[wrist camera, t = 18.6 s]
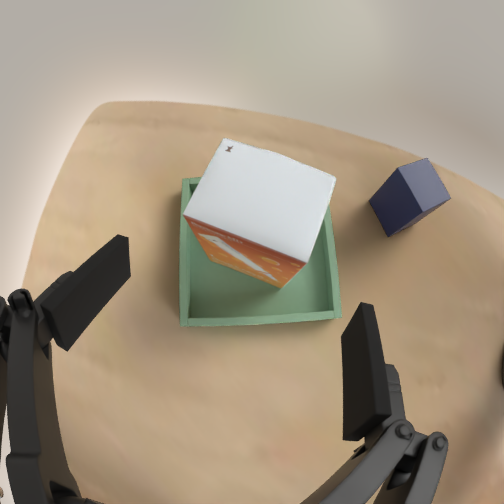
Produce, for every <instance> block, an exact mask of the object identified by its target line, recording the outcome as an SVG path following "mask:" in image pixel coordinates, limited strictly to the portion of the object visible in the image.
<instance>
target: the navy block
mask: <svg viewBox="0 0 504 504" xmlns="http://www.w3.org/2000/svg"><path fill="white" fill-rule="evenodd" d="M449 199H451V197H450V195H449V193H448V192H447V190H446V188H445V186H444V184H443V183H442V181H441V179H440V178H439V176H438V174H437V172H436V171H435V169H434V168H433V166H432V164H431V163H430V161H429V160H428V158H425V159H422V160H419V161H416V162H413V163H410V164H407V165H404V166H401V167H398V168H397V169H396V170H395V171H394V172H393V174H392V175H391V176H390V177H389V178H388V179H387V180H386V182H385V183H384V184H383V185H382V186H381V187H380V188H379V190H378V191H377V192H376V193H375V194H374V195H373V196H372V197H371V199H370V200H369V202H370V204H371V206H372V207H373V209H374V211H375V213H376V215H377V217H378V219H379V221H380V223H381V224H382V226H383V228H384V230H385V232H386V234H387V236H388V237H389V236H391V235H393V234H395V233H397V232H399V231H401V230H403V229H405V228H407V227H409V226H411V225H413V224H415V223H417V222H418V221H420V220H421V219H422V218H424V217H425V216H427V215H428V214H430V213H431V212H433V211H434V210H435V209H437V208H438V207H440V206H441V205H442V204H444V203H445V202H446V201H448V200H449Z"/></svg>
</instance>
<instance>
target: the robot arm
mask: <svg viewBox="0 0 504 504" xmlns="http://www.w3.org/2000/svg"><path fill="white" fill-rule="evenodd" d="M130 277H131V273H130V259H129V240H128V237H125V236H122V235H116V236H115V237H114V238H113V239H111V240H110V241H109V242H108V243H107V244H105V245H104V246H103V247H102V248H101V249H99V250H98V251H97V252H96V253H95V254H94V255H92V256H91V257H90V258H89V259H88V260H87V261H85V262H84V263H83V264H82V265H81V266H80V267H79V268H78V269H76V270H75V271H74V272H72V271H69V272H67V273H65V274H63V275H61V276H60V277H59V278H58V279H57V280H56V281H55V282H53V283H52V284H51V285H50V287H48V288H47V289H46V290H45V291H44V292H43V293H42V294H41V295H40V296H39V297H38V298H37V299H36V300H35V301H34V302H33V300H32V297H31V295H30V293H29V291H28V290H26V289H18V290H15V291H14V292H12V293H11V294H10V295H9V297H8V302H9V305H10V306H9V305H7V304H6V301H5V299H4V298H3V297H1V296H0V459H1V443H2V433H3V424H4V417H5V410H6V404H7V416H8V429H9V439H10V447H11V452H10V454H8V455H7V457H6V467H7V472H8V478H9V482H10V487H11V491H12V495H13V499H14V502H15V504H104V503H101V502H97V501H94V500H91V499H88V498H86V499H85V498H82V497H81V494H80V491H79V488H78V485H77V483H76V481H75V479H74V477H73V476H72V474H71V473H70V470H69V468H68V464H67V460H66V456H65V452H64V448H63V443H62V439H61V434H60V428H59V423H58V417H57V410H56V402H55V394H54V384H53V371H52V349H51V342H50V341H51V339H52V338H54V340H55V342H56V344H57V345H58V346H59V347H61V348H63V349H64V350H66V351H67V352H68V350H69V349H70V348H71V346H72V345H73V344H74V343H75V341H76V340H77V339H78V338H79V336H80V335H81V334H82V333H83V331H84V330H85V329H86V328H87V326H88V325H89V324H90V323H91V322H92V320H93V319H94V318H95V317H96V316H97V314H98V313H99V312H100V311H101V310H102V308H103V307H104V306H105V305H106V304H107V303H108V301H109V300H110V299H111V298H112V297H113V296H114V294H115V293H116V292H117V291H118V290H119V289H120V288H121V287H122V285H123V284H124V283H125V282H126V281H127V280H128V279H129V278H130ZM341 345H342V367H343V440H346V441H359V440H360V439H362V438H363V437H365V443H364V444H363V445H361V446H360V447H358V448H357V449H355V450H354V452H355V453H354V454H353V455H352V456H351V457H350V459H349V460H348V461H347V462H346V463H345V464H344V465H343V466H342V467H341V468H340V469H339V470H338V471H337V472H336V473H335V474H334V475H332V476H331V477H330V478H329V479H328V480H327V481H326V482H325V483H324V484H323V485H322V486H321V487H319V488H318V489H317V490H316V491H315V492H314V493H312V494H311V495H310V496H309V497H308V498H307V499H305V500H304V501H303V502H302V503H300V504H365V503H366V502H367V501H368V500H369V499H370V498H371V496H372V495H373V494H374V493H375V492H376V491H377V489H378V488H379V487H380V486H381V484H382V483H383V482H384V483H383V485H382V487H381V489H380V491H379V493H378V495H377V497H376V499H375V501H374V503H373V504H431V503H432V500H433V497H434V495H435V492H436V489H437V486H438V483H439V480H440V476H441V473H442V470H443V466H444V463H445V459H446V455H447V451H448V440H447V438H446V436H445V435H444V434H442V433H441V432H433V433H432V434H431V435H429V436H427V435H424V434H421V433H419V432H416V431H415V430H414V427H413V425H412V424H411V423H410V422H409V421H407V420H406V418H405V411H404V404H403V398H402V392H401V385H400V380H399V374H398V372H397V370H396V369H395V367H394V365H390V364H385V361H384V355H383V350H382V344H381V339H380V334H379V329H378V324H377V320H376V315H375V311H374V306H373V305H371V304H367V303H363V302H360V304H359V306H358V308H357V310H356V311H355V313H354V315H353V317H352V319H351V320H350V322H349V324H348V326H347V327H346V329H345V331H344V332H343V334H342V336H341ZM502 376H503V385H504V358H503V370H502ZM2 497H3V490H2V488H1V487H0V498H2ZM0 504H1V503H0Z"/></svg>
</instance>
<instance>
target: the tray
mask: <svg viewBox="0 0 504 504" xmlns="http://www.w3.org/2000/svg"><path fill="white" fill-rule="evenodd" d="M201 178H202V177H197V178H190V179H189V178H186V179H183V180H182V196H181V216H180V247H179V309H180V326H233V325H257V324H275V323H289V322H302V321H314V320H324V319H334V318H342V313H341V299H340V288H339V277H338V268H337V259H336V250H335V242H334V235H333V227H332V220H331V214H330V207H329V204H328V207H327V210H326V213H325V216H324V219H323V222H322V225H321V227H320V230H319V233H318V236H317V239H316V242H315V244H314V247H313V250H312V253H311V256H310V258H309V261H308V263H307V264H306V265H305V266H304V267H303V268H302V269H301V270H300V271H299V272H298V273H297V274H296V275H295V276H294V277H293V278H292V279H291V280H290V281H289V282H288V283H287V284H286V285H285V286H284V287H283V288H278V287H276V286H273V285H271V284H269V283H266V282H264V281H261V280H259V279H256V278H254V277H251V276H249V275H246V274H244V273H241V272H239V271H236V270H234V269H231V268H229V267H226V266H223V265H221V264H218V263H215V262H212V261H210V260H209V258H208V256H207V255H206V253H205V251H204V250H203V248H202V246H201V245H200V243H199V241H198V240H197V238H196V236H195V235H194V233H193V231H192V229H191V228H190V226H189V224H188V223H187V221H186V219H185V218H184V216H183V213H184V211H185V209H186V207H187V205H188V203H189V201H190V199H191V197H192V195H193V193H194V191H195V189H196V187H197V186H198V184H199V182H200V180H201Z"/></svg>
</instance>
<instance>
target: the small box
mask: <svg viewBox="0 0 504 504" xmlns="http://www.w3.org/2000/svg"><path fill="white" fill-rule="evenodd" d="M335 183H336V178H335V177H334V176H333V175H330V174H328V173H326V172H323V171H321V170H318V169H316V168H314V167H311V166H309V165H306V164H303V163H301V162H298V161H296V160H293V159H291V158H289V157H286V156H284V155H281V154H279V153H276V152H272V151H269V150H265V149H261V148H257V147H254V146H251V145H248V144H245V143H241V142H237V141H234V140H231V139H228V138H223V139H222V141H221V143H220V145H219V147H218V149H217V150H216V152H215V154H214V156H213V158H212V160H211V161H210V163H209V165H208V167H207V169H206V170H205V172H204V174H203V176H202V178H201V180H200V182H199V184H198V186H197V187H196V189H195V191H194V193H193V195H192V197H191V199H190V201H189V203H188V205H187V207H186V209H185V211H184V213H183V216H184V218H185V219H186V221H187V223H188V224H189V226H190V228H191V229H192V231H193V233H194V235H195V236H196V238H197V240H198V241H199V243H200V245H201V246H202V248H203V250H204V251H205V253H206V255H207V256H208V258H209V260H210V261H212V262H215V263H218V264H221V265H223V266H226V267H229V268H231V269H234V270H236V271H239V272H241V273H244V274H246V275H249V276H251V277H254V278H256V279H259V280H261V281H264V282H266V283H269V284H271V285H273V286H276V287H278V288H283V287H284V286H285V285H286V284H287V283H288V282H289V281H290V280H291V279H292V278H293V277H294V276H295V275H296V274H297V273H298V272H299V271H300V270H301V269H302V268H303V267H304V266H305V265H306V264H307V263H308V261H309V258H310V256H311V253H312V250H313V247H314V244H315V242H316V239H317V236H318V233H319V230H320V227H321V225H322V222H323V219H324V216H325V213H326V210H327V207H328V204H329V201H330V198H331V195H332V192H333V189H334V186H335Z"/></svg>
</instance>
